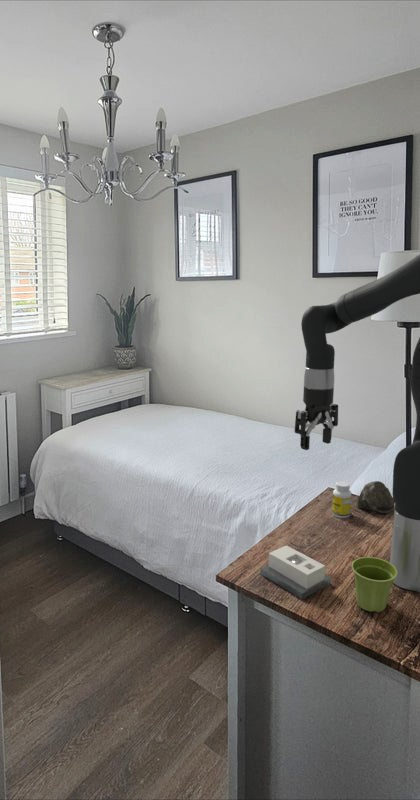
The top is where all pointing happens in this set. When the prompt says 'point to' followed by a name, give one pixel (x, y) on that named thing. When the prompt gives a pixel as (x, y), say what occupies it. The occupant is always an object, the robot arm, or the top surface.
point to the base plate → (292, 585)
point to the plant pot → (373, 582)
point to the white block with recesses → (297, 566)
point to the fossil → (376, 498)
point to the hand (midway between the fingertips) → (315, 445)
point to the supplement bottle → (341, 500)
